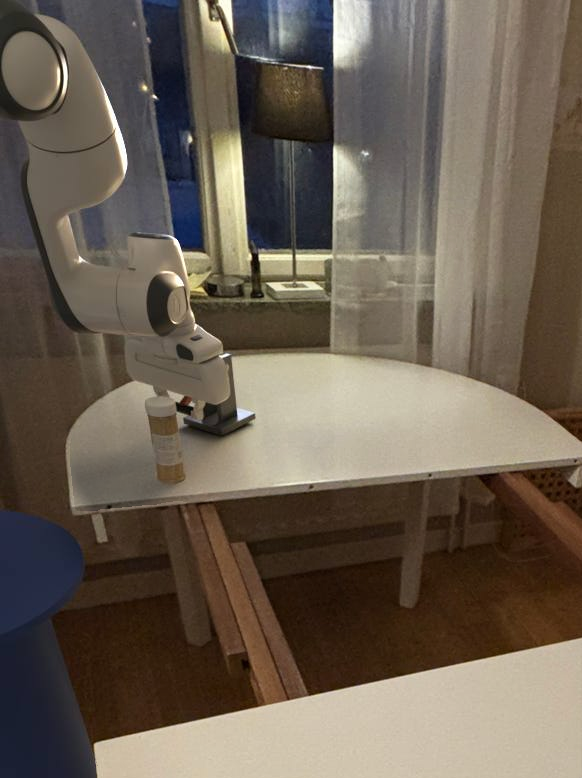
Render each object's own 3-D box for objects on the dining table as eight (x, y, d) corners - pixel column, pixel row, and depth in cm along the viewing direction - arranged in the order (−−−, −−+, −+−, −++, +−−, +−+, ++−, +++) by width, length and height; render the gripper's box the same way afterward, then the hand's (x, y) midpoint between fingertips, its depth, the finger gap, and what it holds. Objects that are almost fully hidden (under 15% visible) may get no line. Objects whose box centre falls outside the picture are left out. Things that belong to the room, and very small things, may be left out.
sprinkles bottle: (166, 471, 130) (153, 393, 122) (191, 476, 130) (180, 397, 122) (151, 482, 127) (138, 402, 119) (177, 486, 126) (165, 407, 118)
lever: (192, 419, 137) (186, 410, 135) (170, 412, 139) (164, 403, 137) (231, 366, 142) (225, 357, 140) (209, 360, 143) (203, 351, 141)
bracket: (222, 435, 143) (213, 367, 135) (183, 423, 145) (173, 356, 138) (255, 418, 150) (249, 353, 142) (218, 407, 153) (210, 342, 145)
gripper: (108, 328, 130) (125, 406, 139) (205, 356, 124) (216, 435, 133) (135, 319, 134) (151, 394, 143) (230, 345, 129) (240, 422, 138)
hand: (183, 414), depth 138 cm, fingers closed on lever, 5 cm apart
